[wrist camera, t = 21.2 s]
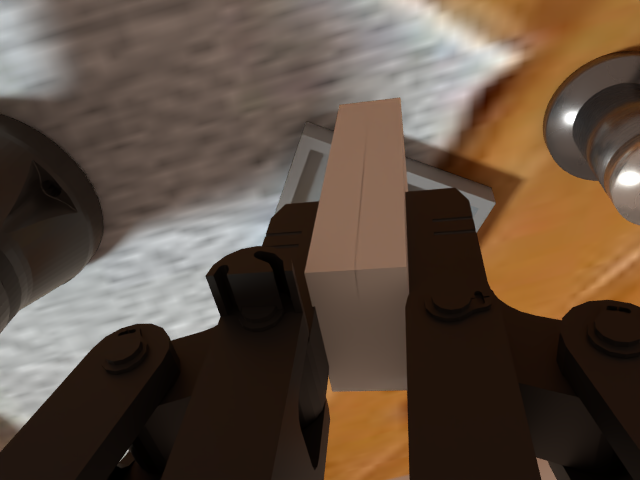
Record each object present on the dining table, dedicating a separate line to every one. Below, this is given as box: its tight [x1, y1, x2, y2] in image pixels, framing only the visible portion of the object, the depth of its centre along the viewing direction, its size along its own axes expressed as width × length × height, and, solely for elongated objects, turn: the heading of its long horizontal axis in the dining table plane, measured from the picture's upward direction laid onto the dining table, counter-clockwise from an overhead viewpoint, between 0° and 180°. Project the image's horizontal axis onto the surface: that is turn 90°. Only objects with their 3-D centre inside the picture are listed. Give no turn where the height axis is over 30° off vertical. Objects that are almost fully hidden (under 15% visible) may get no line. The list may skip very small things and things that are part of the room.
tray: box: [275, 122, 496, 233], centre depth 39 cm, size 14×14×2 cm
